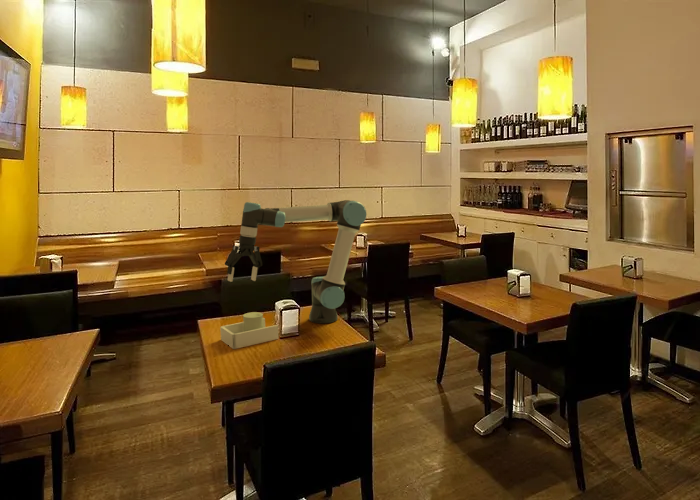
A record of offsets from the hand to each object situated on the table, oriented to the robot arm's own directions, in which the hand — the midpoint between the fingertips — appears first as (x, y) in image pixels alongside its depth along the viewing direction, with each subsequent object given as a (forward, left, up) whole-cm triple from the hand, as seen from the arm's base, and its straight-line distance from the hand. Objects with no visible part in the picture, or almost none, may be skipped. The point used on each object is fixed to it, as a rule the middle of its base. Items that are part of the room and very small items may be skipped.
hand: (241, 280), depth 217 cm
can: (-3, +5, -27) cm, 28 cm away
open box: (-1, +5, -27) cm, 28 cm away
